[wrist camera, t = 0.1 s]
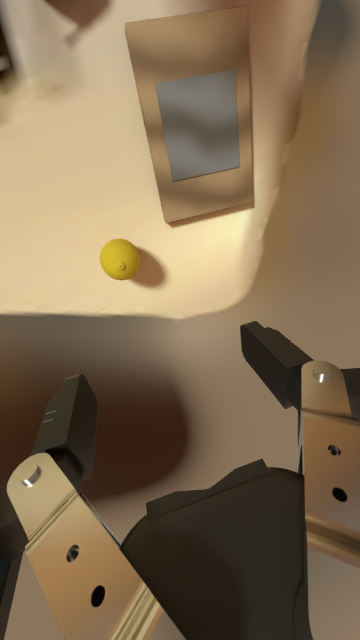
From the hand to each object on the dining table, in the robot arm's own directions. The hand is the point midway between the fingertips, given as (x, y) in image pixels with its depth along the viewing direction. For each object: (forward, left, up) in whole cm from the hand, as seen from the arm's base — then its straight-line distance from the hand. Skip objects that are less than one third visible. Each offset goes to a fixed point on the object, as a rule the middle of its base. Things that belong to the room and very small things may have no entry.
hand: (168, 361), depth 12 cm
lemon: (0, -2, -29) cm, 29 cm away
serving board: (-13, +13, -29) cm, 34 cm away
